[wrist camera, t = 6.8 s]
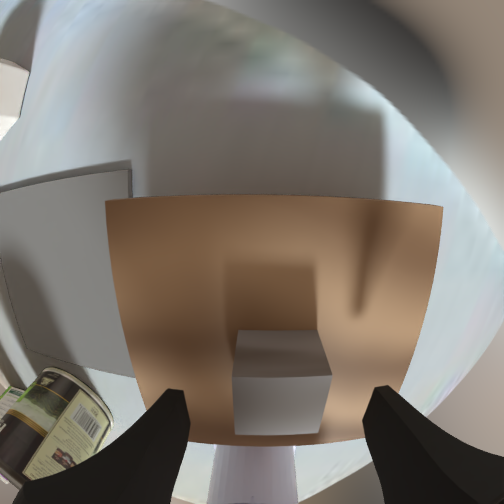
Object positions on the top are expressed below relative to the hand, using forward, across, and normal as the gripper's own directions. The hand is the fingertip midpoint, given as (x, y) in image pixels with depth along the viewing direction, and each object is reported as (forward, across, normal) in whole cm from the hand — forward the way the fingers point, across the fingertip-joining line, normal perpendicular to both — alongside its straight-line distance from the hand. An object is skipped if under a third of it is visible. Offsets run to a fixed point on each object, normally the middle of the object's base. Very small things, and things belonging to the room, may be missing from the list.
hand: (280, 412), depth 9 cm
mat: (+9, +17, -1) cm, 19 cm away
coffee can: (+10, +21, +14) cm, 27 cm away
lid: (+4, 0, 0) cm, 4 cm away
